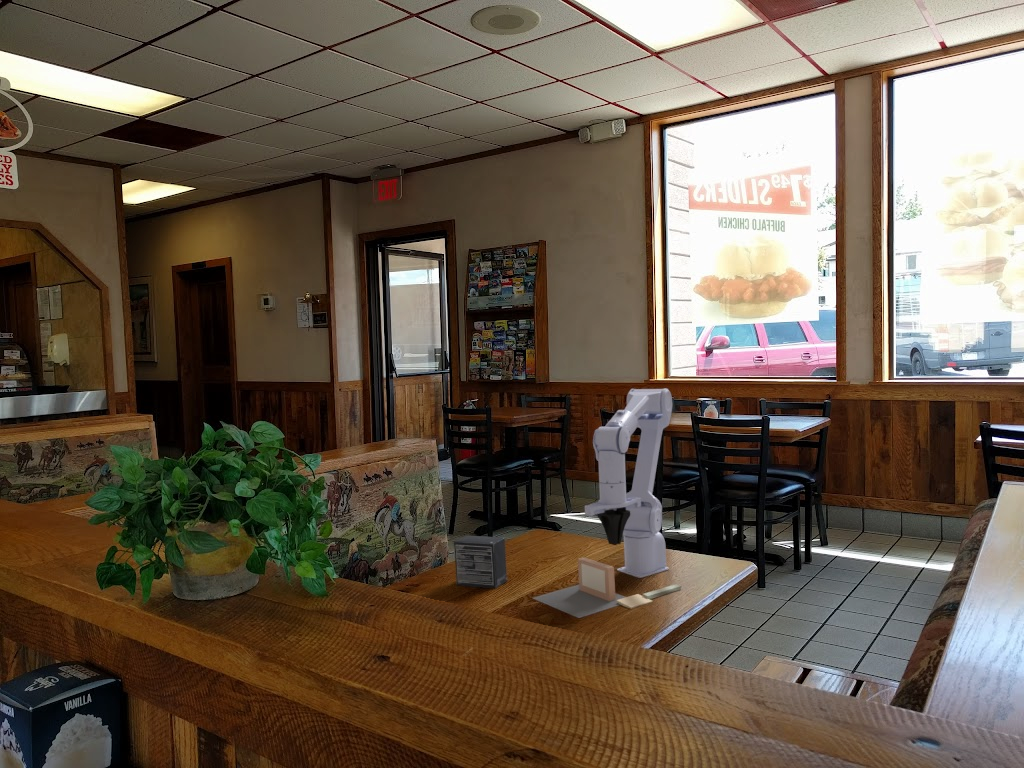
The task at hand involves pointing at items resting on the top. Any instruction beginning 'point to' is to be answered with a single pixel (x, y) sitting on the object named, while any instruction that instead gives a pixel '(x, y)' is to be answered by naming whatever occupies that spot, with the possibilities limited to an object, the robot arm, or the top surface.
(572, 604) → the mat
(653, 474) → the robot arm
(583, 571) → the block
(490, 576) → the small box
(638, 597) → the turner
